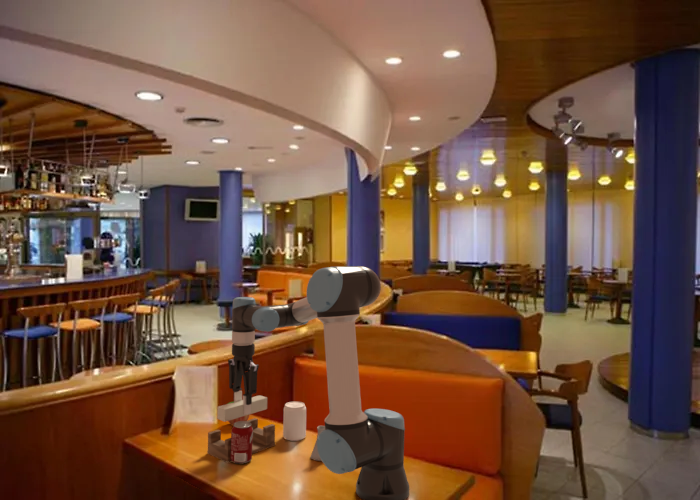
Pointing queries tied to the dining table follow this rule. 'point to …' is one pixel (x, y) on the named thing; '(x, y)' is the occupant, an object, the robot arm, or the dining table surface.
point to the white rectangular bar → (240, 408)
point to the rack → (223, 448)
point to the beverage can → (294, 421)
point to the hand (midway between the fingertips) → (242, 412)
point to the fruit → (243, 418)
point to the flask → (315, 451)
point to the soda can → (241, 442)
